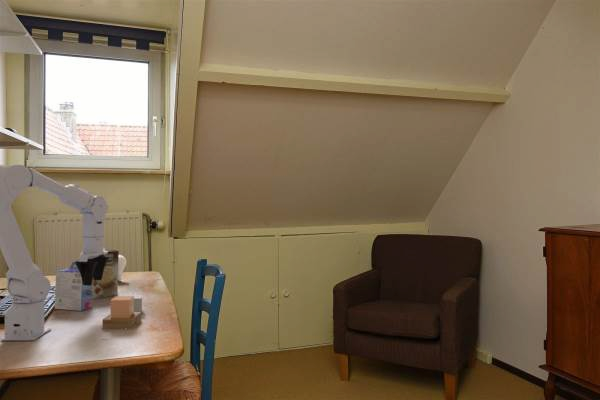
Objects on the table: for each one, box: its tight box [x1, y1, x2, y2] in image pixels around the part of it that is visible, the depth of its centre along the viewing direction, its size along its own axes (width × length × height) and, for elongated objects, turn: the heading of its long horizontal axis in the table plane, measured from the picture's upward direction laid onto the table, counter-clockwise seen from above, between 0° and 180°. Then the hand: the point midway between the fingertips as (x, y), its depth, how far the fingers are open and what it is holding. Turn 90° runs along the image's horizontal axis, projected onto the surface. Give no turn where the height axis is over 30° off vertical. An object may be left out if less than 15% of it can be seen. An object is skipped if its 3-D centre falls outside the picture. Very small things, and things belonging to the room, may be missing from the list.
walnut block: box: [101, 312, 142, 330], centre depth 130 cm, size 8×8×3 cm
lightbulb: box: [118, 254, 127, 283], centre depth 191 cm, size 6×6×11 cm
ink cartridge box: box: [54, 261, 93, 312], centre depth 147 cm, size 10×6×14 cm, turn 78°
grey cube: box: [126, 294, 143, 315], centre depth 143 cm, size 5×5×5 cm
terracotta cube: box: [110, 295, 134, 318], centre depth 130 cm, size 5×5×5 cm
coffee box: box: [92, 249, 120, 300], centre depth 165 cm, size 9×6×16 cm
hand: (92, 282), depth 136 cm, fingers open, 7 cm apart
